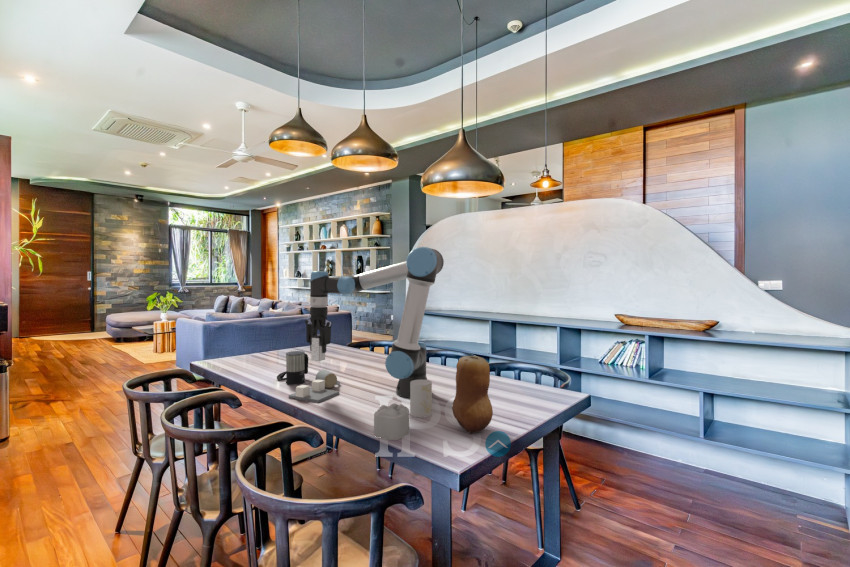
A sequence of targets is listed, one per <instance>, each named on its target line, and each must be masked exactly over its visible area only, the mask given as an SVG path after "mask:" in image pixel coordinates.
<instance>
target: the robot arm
mask: <svg viewBox="0 0 850 567" xmlns="http://www.w3.org/2000/svg"><path fill="white" fill-rule="evenodd" d="M444 262H445V261H444V258H443V255H442V253H441V252H439V251H438V250H437V249H434V248H431V247H428V246H419V247H416V248H414V249H412V250H411V251H410V252H409V253H408V255H407V256H406V260H405V261H402V262H398V263H395V264H390V265H388V266H383V267H381V268H377V269H373V270H372V269H371V270H370V271H366V272H362V273H359V274H358V273H357V274H355V275H350V276H349V275H341V276H340V275H339V276H338V275H335V276H333V275H332V276H330V275H329V272H328V271H326V270H325V271H322V270H321V271H320V270H318V271H317V270H313V271H311V273H310V278H309V279H310V280H309V282H310V286H309V287H310V288H309V289H310V295H309V298H310V300H309V305H310V307H309V315H310V318H309V319H305V320H304V322H305V328H306V329H305V333H306V334H305V335H306V338H305V339H306V342H307V343H309V345H310V349H309V350H310V352H311V353H310V355H311V356H310V360H312V338H313V337H314V335H318V331H319V335H320V339H321V345H320V361H319V362H321V361H325V360H326V353H327V345H330V344H331V339H332V338H331V337H332V326H333V321H329V320H328V318H327V316H328V312H329V310H328V306H329V305H328V304H329V296H328V295H329V294H335V295H336V294H339V295H352V294H353V293H354V294H356V293H359V292H362V291H365V290H368V289H371V288H376V287H379V286H384V285H388V284H390V283H394V282H399V281H402V280H408V287H407V292H406V296H405V301H404V305H403V310H402V316H401V321H400V325H399V330H398V334H397V339H395V340H393V341H392V346H391V349H390V353H389V354H388V355H387V357H386V359H385V362H384V364H385V370H386V372H387V373H388V374H389V375H390V376H391V377H393V378H394V379H398V382H397V385H396V388H395V394H396V395H397V396H398V395H399V397H403V398H409V399H410V382H411V381H413V380H428V377H427V351H428V350H427V344H426V343H425V342H424V341H419V340H420V333H421V330H422V325H423V320H424V317H425V312H426V311H425V310H426V307H427V301H428V297H429V294H430V289H431V288H430V287H431V286H433V285H434V284H435V282H436V279H437V275H438V274H440V272H441V271H442V270H443V267H444Z"/></svg>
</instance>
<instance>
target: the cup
mask: <svg viewBox="0 0 850 567" xmlns="http://www.w3.org/2000/svg"><path fill="white" fill-rule="evenodd" d="M432 388H433V382H432V381H431V380H429V379H427V380H413V381H411V382H410V398H409V401H410V402H409V404H410V407H409V408H410V409H409V415H411V416H412V417H415V418H427V417H430V416H432V414H433V409H432V408H433V406H432V403H433V399H432V398H433V394H432V392H433V391H432V390H433V389H432Z"/></svg>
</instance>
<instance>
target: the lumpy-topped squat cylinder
mask: <svg viewBox="0 0 850 567" xmlns="http://www.w3.org/2000/svg"><path fill="white" fill-rule="evenodd" d="M373 417H374V418H373V436H374V435H375V436H376V437H381V438H380V439H383V438H386V439H385V440H389V441H398V440H401V439H403V438H404V437H406V436H407V435H408V434H409V433H410V409H409V408H408V407H407V406H405V405H403V404H397V403H392V404H390V405H389V406H388V405H385V404H384V405H383V404H382V405H380V406H379V409H378V410H377V411H375V412H374V413H373ZM375 436H374V437H375ZM376 437H375V438H376Z"/></svg>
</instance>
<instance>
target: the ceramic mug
mask: <svg viewBox="0 0 850 567" xmlns="http://www.w3.org/2000/svg"><path fill="white" fill-rule="evenodd" d="M315 380H325V389H332V388H334V387H335V386H336V385H337V386H340V384H341V381H339V380H338V377H337V375H336V374H335V373H333V372H331V371H329V370H327V369H324V368H323V369H321V370H319V371H318V372H317V373H316V375H315Z"/></svg>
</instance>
